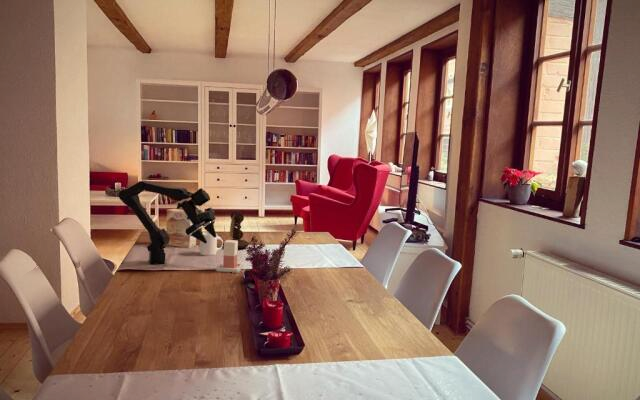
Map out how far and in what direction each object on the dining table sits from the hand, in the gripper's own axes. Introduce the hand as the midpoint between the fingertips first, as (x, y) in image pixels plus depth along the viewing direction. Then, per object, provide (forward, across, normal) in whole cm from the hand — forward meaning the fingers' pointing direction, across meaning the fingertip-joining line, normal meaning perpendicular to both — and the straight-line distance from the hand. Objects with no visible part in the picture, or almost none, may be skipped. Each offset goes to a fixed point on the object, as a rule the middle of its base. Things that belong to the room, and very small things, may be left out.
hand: (211, 240), depth 225 cm
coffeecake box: (-7, +32, +39) cm, 51 cm away
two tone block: (+16, -1, -1) cm, 16 cm away
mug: (+6, +22, +19) cm, 30 cm away
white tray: (+16, -1, 0) cm, 16 cm away
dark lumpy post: (+10, +43, +17) cm, 47 cm away
